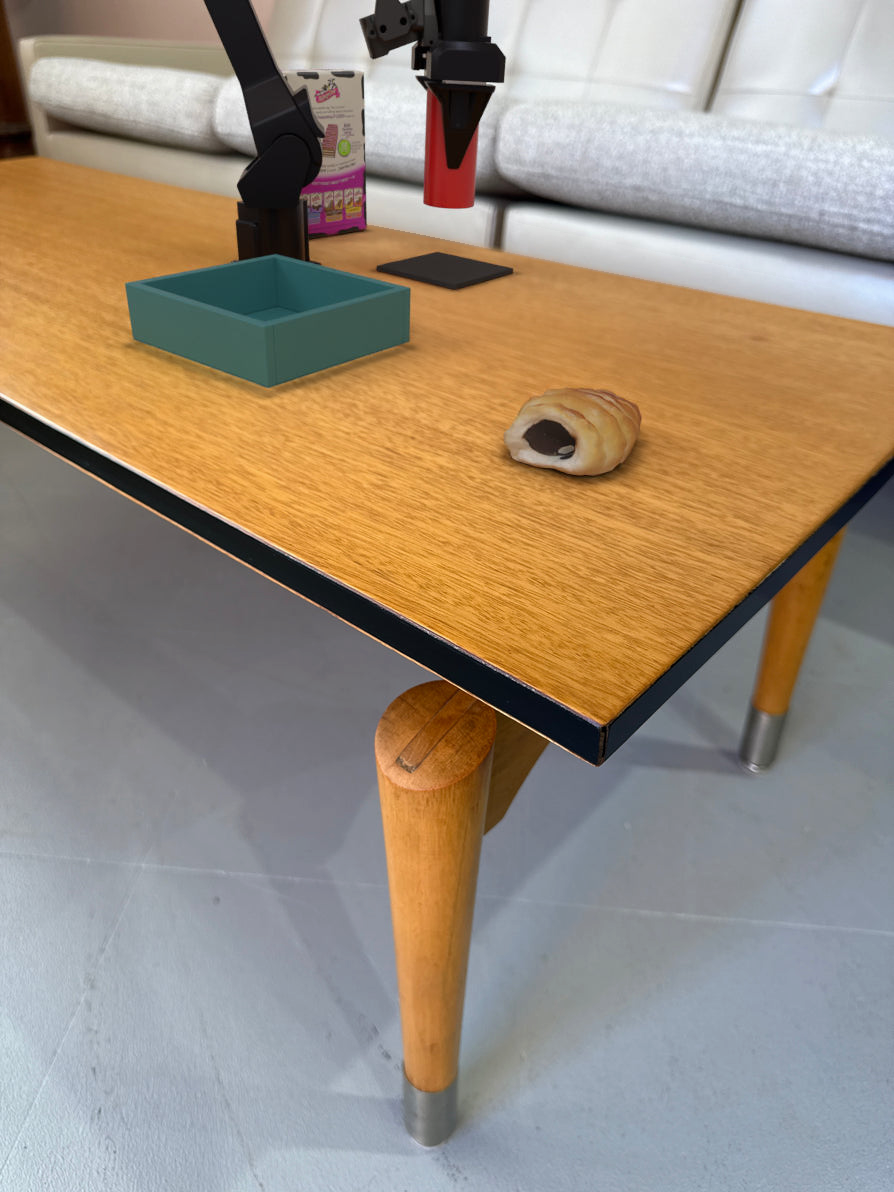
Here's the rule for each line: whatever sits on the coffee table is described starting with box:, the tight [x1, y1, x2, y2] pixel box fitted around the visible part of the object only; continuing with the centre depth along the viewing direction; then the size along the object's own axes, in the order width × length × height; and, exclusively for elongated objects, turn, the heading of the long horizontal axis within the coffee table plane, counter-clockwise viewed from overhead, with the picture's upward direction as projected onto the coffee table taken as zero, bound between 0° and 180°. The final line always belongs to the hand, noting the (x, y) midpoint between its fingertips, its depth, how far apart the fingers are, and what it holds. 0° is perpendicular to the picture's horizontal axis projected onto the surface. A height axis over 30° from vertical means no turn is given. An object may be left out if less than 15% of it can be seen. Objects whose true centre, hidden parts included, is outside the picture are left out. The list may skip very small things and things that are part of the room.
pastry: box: [503, 387, 642, 477], centre depth 51 cm, size 9×7×4 cm
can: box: [422, 88, 480, 210], centre depth 82 cm, size 5×5×10 cm
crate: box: [124, 254, 412, 389], centre depth 65 cm, size 15×15×4 cm
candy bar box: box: [280, 68, 368, 239], centre depth 98 cm, size 11×5×16 cm, turn 137°
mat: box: [375, 251, 514, 290], centre depth 88 cm, size 10×10×1 cm
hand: (449, 164), depth 83 cm, fingers closed on can, 5 cm apart
